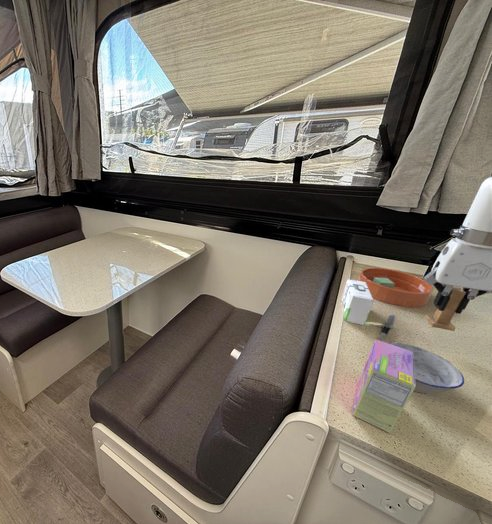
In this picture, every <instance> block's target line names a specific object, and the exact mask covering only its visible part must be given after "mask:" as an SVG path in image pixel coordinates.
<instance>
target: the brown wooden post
mask: <svg viewBox="0 0 492 524" xmlns="http://www.w3.org/2000/svg"><path fill="white" fill-rule="evenodd" d="M462 289H463V288H462V287H456V286H453V288H452V290H451V291H450V293H449V295H448V296H449V297H450V300H449V302H448V304H447V306H446V308H445V310H444V311H439V310H438V309H437V308H436V310H435V312H434V314H433V315H429V314H426V315H425V317H424V319H425V320H426V322H427V323H428V324H429V325H430V327H431V328H436V329H440V330H441V329H442V330H446V331H451V332H452V331H453V332H454V331H455V330H456V326H455V325H454V324H453V323H452V322H451V321H452V319H453V317H454V316H455V314H456V313H455V312H456V310H457V308H458V306H459V304H460V302H461V300H462V299H463V297H464V295H465V293H466V292H465V291H464V290H462Z"/></svg>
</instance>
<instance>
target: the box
mask: <svg viewBox="0 0 492 524" xmlns="http://www.w3.org/2000/svg"><path fill="white" fill-rule="evenodd" d="M388 343H389V342H385V341H382V340H378V339H375V340H374V342H373V345H372V348H371V349H370V352H369V355H368V357H367V360H366V362H365V365H364V368H363V370H362V373H361V374H360V377H359V380H358V383H357V387H356V393H355V397H354V402H353V407H352V412H351V414H352V416H354V417H355V418H358V419H359V420H361V421H363V422H365V423H367V424H370V425H371V426H373V427H376V428H377V429H379V430H382V431H384V432H386V433H388V434H391V432H392V431H393V429H394V428H395V426H396V423H397V421H398V419H399V418H400V416H401V414H402V412H403V410H404V409H405V407H406V406H407V403H408V401H409V399H410V398H411V396H412V394H413V393H414V391H413V390H414V389H415V387H416V384H415V371H414V356H413V352H412V351H409V350H406V349H403V348H400V347H397V346H394V345H391V344H388Z"/></svg>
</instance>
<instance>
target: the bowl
mask: <svg viewBox="0 0 492 524" xmlns="http://www.w3.org/2000/svg"><path fill="white" fill-rule="evenodd" d="M387 343H388V344H391V345H394V346H397V347H400V348H403V349H406V350H409V351H412V352H413V356H414V371H415V384H416V387H415V389H414V390H413V392H417V393H421V394H427V395H431V394H436V393H440V392H444V391H448V390H454V389H458V388H460V387H463V385H464V384H465V377H464V375H463V373H462V372H461V371H460V370H459V369H458V368H457V367H456V366H455V365H454V364H452V363H451V361H449V360H447V359H444V358H443V357H442V356H440V355H438V354H436V353H434V352H431V351H429V350H426V349H425V348H422V347H419V346H415V345H412V344H410V343H404V342H397V341H392V342H387Z"/></svg>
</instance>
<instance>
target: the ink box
mask: <svg viewBox="0 0 492 524" xmlns="http://www.w3.org/2000/svg"><path fill="white" fill-rule="evenodd" d="M341 299H342V301H343V305H344V313H343V317H344V322H348V323H352V324H356V325H360V326H365V325H366V323H367V320H368V319H369V315H370V312H371V309H372V307H373V304H374V302H375V301H374V298H372V295H371V293H370V291H369V289H368V286H367V284H366V282H362V281H358V280H355V279H349V278H348V279H346V283H345V286H344V290H343V292H342V296H341Z"/></svg>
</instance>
